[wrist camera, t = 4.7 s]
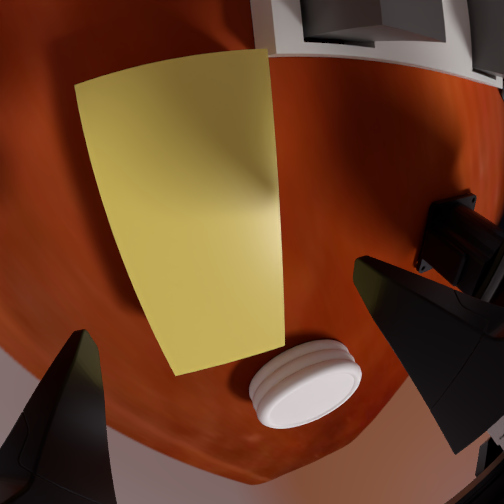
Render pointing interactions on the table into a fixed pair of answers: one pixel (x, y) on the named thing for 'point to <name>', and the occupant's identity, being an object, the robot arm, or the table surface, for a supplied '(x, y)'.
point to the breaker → (487, 35)
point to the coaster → (304, 383)
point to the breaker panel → (397, 52)
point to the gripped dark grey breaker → (373, 20)
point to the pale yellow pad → (193, 199)
